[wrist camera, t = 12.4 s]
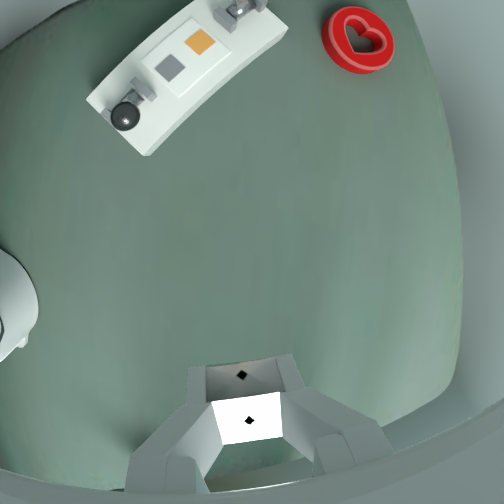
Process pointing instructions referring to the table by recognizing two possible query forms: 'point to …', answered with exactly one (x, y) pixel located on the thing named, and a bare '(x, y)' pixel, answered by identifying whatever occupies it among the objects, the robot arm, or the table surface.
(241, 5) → the lever
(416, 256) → the table surface
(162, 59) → the switch unit
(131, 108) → the lever
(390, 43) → the decorative ornament
